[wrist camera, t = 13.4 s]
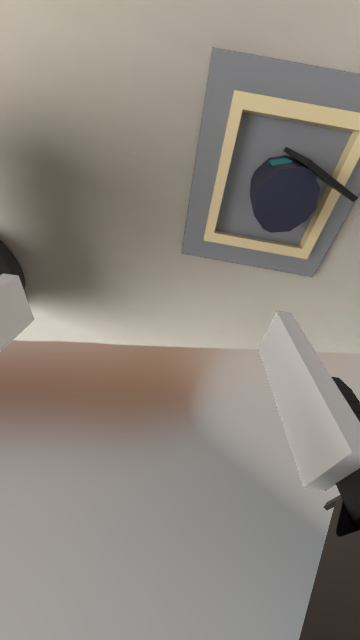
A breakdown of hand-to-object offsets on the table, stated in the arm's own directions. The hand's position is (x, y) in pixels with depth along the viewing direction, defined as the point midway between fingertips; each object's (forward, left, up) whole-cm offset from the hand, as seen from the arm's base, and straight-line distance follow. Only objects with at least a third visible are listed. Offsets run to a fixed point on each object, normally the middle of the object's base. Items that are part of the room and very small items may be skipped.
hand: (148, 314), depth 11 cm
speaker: (+11, +6, -23) cm, 26 cm away
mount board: (+10, +6, -24) cm, 26 cm away
